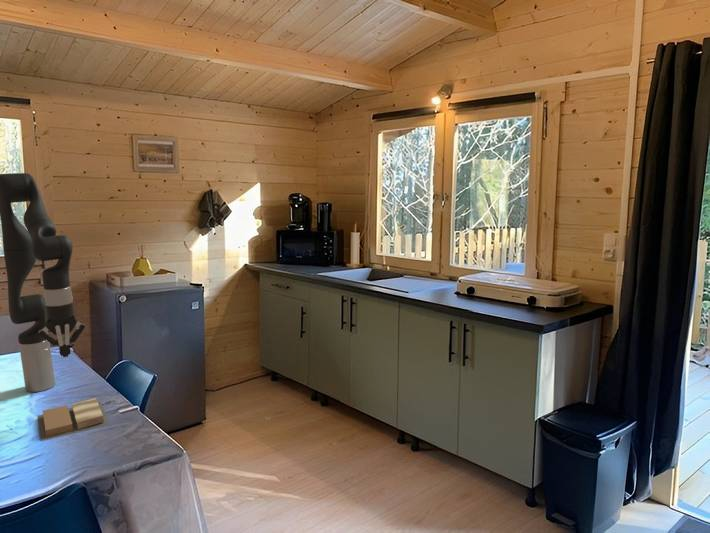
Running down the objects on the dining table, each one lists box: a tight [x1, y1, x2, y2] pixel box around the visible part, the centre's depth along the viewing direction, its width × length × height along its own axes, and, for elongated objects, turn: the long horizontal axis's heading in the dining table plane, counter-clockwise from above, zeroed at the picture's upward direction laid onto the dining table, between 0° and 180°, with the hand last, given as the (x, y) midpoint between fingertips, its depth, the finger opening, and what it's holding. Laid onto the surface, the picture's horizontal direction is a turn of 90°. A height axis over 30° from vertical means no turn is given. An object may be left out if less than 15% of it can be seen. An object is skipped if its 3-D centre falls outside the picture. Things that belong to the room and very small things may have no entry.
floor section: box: [37, 401, 111, 442], centre depth 168 cm, size 20×18×3 cm
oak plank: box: [71, 397, 104, 429], centre depth 170 cm, size 16×7×2 cm, turn 32°
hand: (65, 356), depth 171 cm, fingers closed
